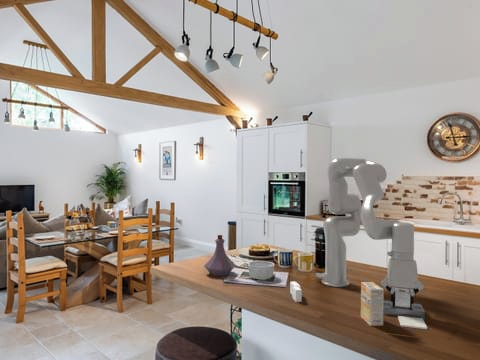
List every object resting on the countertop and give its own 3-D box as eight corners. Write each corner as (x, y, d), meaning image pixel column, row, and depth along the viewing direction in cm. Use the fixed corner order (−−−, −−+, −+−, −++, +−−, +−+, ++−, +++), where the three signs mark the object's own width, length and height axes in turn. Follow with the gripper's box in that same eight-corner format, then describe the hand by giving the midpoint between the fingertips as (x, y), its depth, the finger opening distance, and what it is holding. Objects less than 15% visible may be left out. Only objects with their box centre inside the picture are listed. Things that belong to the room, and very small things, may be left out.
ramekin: (278, 276, 183) (279, 262, 183) (266, 283, 172) (266, 268, 172) (256, 272, 190) (256, 259, 190) (242, 278, 179) (243, 264, 179)
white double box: (288, 291, 161) (288, 278, 161) (313, 295, 156) (313, 282, 155) (275, 301, 148) (275, 287, 148) (301, 306, 142) (301, 292, 142)
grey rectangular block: (395, 313, 133) (395, 291, 133) (393, 308, 138) (393, 287, 137) (409, 315, 131) (410, 293, 131) (407, 310, 136) (408, 289, 136)
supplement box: (359, 318, 130) (360, 281, 130) (372, 317, 131) (373, 281, 130) (370, 327, 122) (370, 289, 122) (383, 327, 122) (384, 288, 122)
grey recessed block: (382, 315, 133) (382, 307, 133) (380, 307, 140) (380, 300, 140) (424, 320, 128) (424, 311, 128) (420, 312, 136) (420, 303, 136)
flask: (217, 268, 199) (217, 231, 199) (241, 272, 189) (242, 234, 189) (197, 274, 186) (197, 235, 186) (222, 280, 176) (222, 239, 176)
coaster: (400, 327, 122) (401, 324, 122) (397, 318, 130) (397, 315, 130) (427, 330, 120) (427, 327, 120) (422, 321, 127) (422, 318, 127)
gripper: (378, 256, 133) (377, 305, 133) (430, 260, 128) (429, 311, 128) (377, 252, 140) (376, 298, 141) (425, 255, 135) (424, 303, 136)
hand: (401, 304), depth 134 cm, fingers closed on grey rectangular block, 5 cm apart
